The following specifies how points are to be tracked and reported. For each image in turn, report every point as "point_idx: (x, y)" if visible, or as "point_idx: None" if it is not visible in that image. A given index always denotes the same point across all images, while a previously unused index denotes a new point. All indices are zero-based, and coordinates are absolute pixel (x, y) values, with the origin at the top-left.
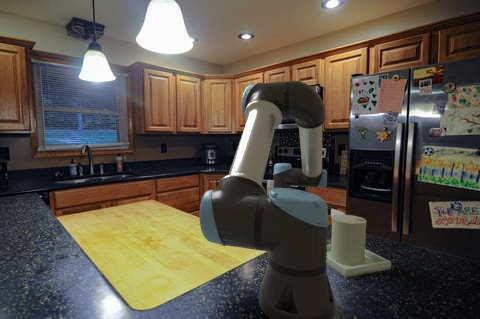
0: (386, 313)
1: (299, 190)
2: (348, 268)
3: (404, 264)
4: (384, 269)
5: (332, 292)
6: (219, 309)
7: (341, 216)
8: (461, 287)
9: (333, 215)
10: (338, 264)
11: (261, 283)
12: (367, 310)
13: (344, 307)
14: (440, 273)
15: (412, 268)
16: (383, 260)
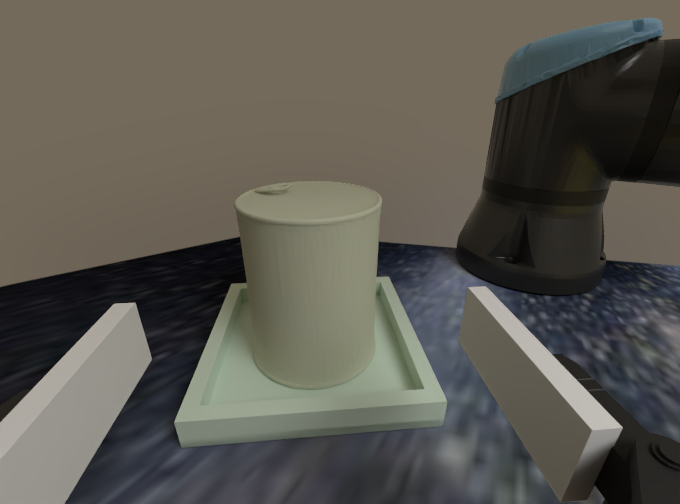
0: (379, 242)
1: (580, 29)
2: (377, 279)
3: (164, 311)
4: None
5: (462, 229)
6: (665, 269)
7: (310, 212)
8: (186, 254)
9: (60, 477)
10: (392, 292)
11: (603, 243)
12: (403, 247)
13: (437, 252)
14: (146, 278)
15: (174, 297)
16: (239, 292)
